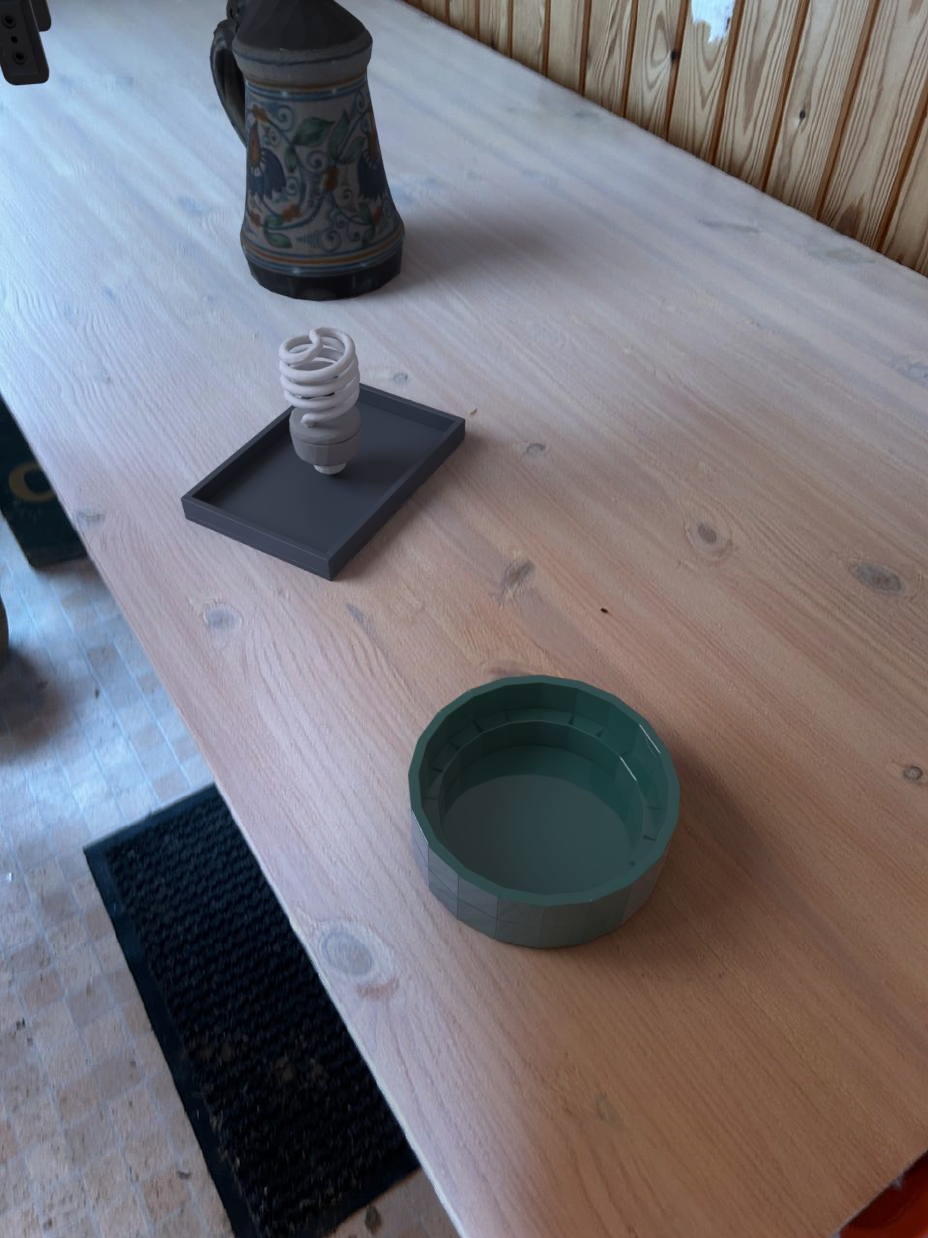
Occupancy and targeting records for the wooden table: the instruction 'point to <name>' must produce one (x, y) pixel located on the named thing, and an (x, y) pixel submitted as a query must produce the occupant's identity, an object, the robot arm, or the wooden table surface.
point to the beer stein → (307, 148)
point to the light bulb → (322, 397)
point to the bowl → (541, 809)
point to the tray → (325, 484)
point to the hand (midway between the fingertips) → (31, 54)
